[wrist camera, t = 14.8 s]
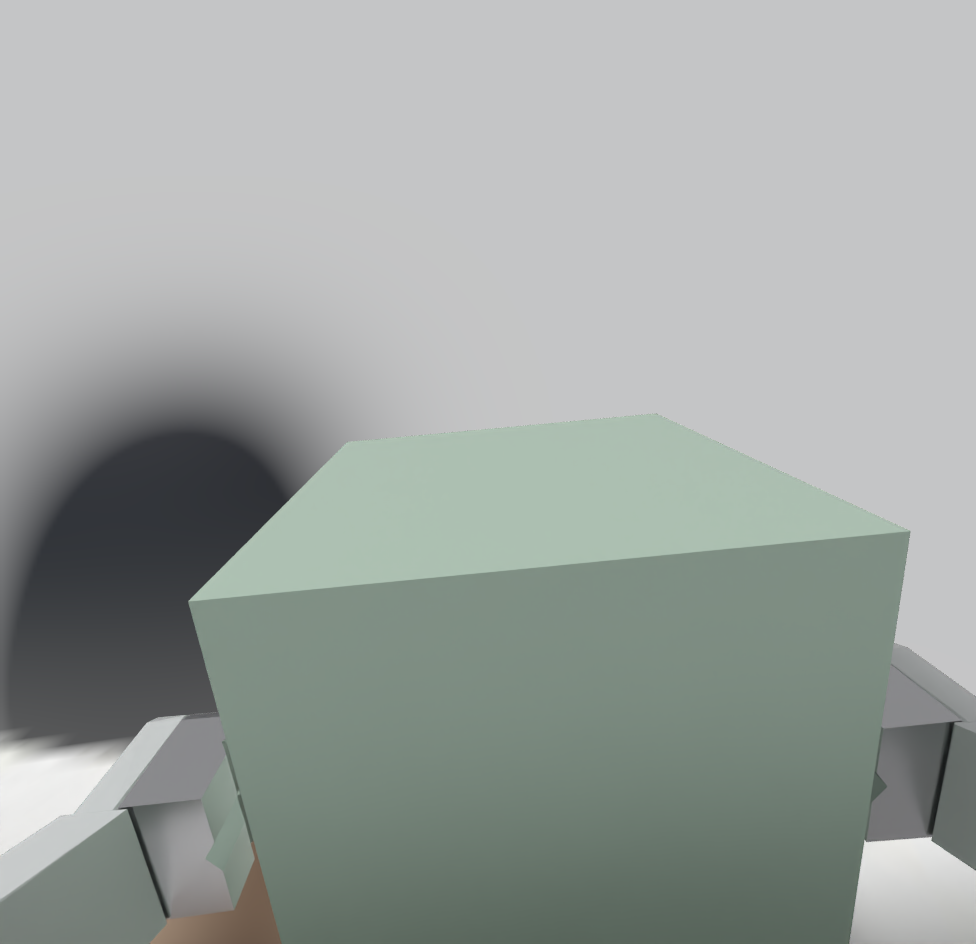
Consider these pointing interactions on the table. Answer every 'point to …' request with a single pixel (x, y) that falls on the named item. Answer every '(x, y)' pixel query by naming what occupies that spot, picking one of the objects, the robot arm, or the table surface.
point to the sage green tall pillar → (557, 691)
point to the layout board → (229, 919)
